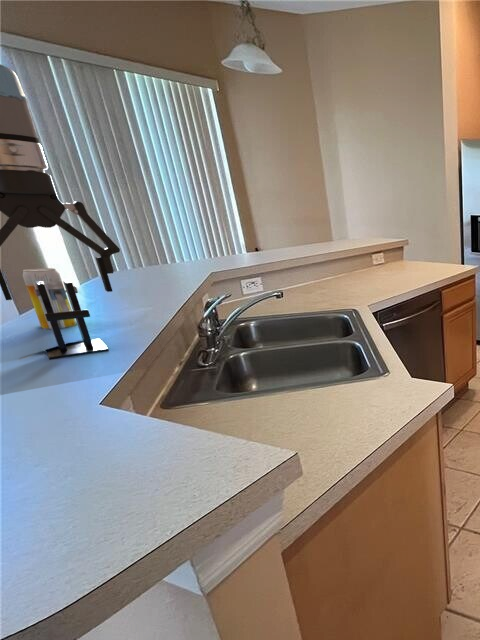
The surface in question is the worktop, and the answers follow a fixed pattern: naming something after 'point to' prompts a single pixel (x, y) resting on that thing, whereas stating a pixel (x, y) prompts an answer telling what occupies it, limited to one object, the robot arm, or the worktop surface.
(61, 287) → the lever
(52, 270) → the yellow pill bottle
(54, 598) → the worktop surface
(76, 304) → the black stand frame
